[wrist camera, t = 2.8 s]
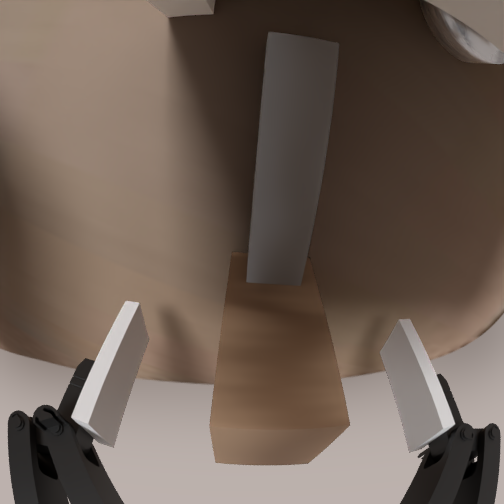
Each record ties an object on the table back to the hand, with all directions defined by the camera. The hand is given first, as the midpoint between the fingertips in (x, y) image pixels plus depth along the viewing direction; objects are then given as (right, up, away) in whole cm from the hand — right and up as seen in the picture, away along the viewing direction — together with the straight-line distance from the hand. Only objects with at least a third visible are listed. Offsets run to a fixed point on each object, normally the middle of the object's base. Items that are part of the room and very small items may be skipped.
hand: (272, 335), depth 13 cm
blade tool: (0, +6, 0) cm, 6 cm away
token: (+10, +16, -6) cm, 20 cm away
